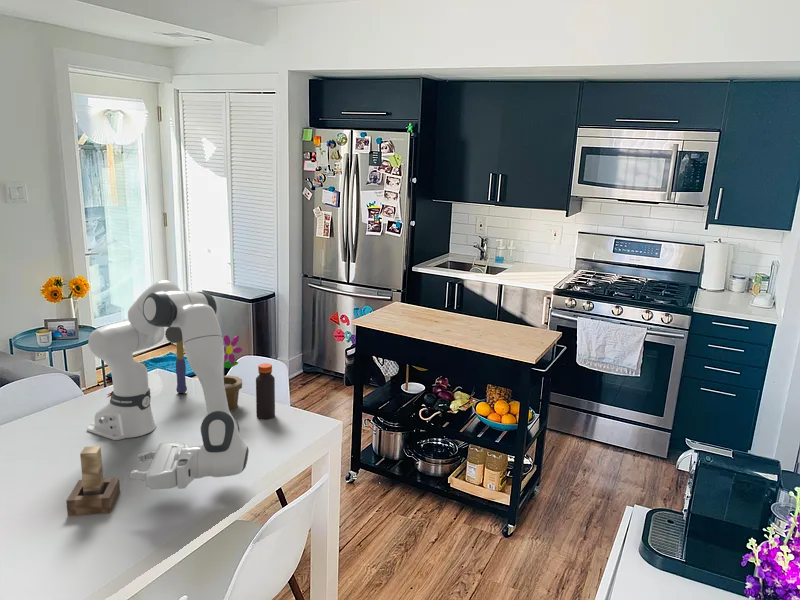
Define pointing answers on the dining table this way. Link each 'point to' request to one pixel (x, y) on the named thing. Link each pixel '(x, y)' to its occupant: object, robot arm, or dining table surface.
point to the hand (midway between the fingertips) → (134, 465)
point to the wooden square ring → (93, 499)
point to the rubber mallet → (178, 357)
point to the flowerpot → (231, 382)
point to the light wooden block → (92, 471)
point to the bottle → (265, 392)
